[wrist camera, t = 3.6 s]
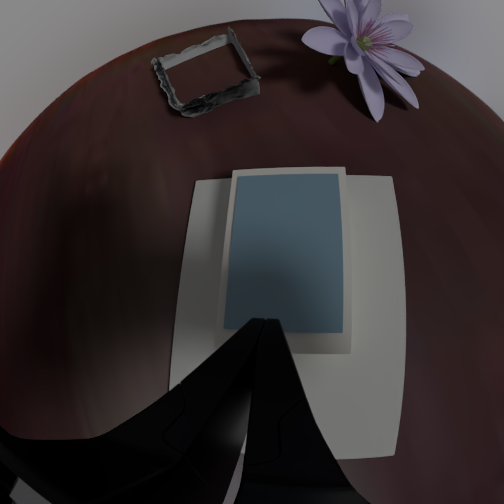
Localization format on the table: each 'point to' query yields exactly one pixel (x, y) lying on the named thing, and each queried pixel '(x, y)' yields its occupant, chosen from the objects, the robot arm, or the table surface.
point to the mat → (363, 318)
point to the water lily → (367, 48)
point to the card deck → (289, 257)
